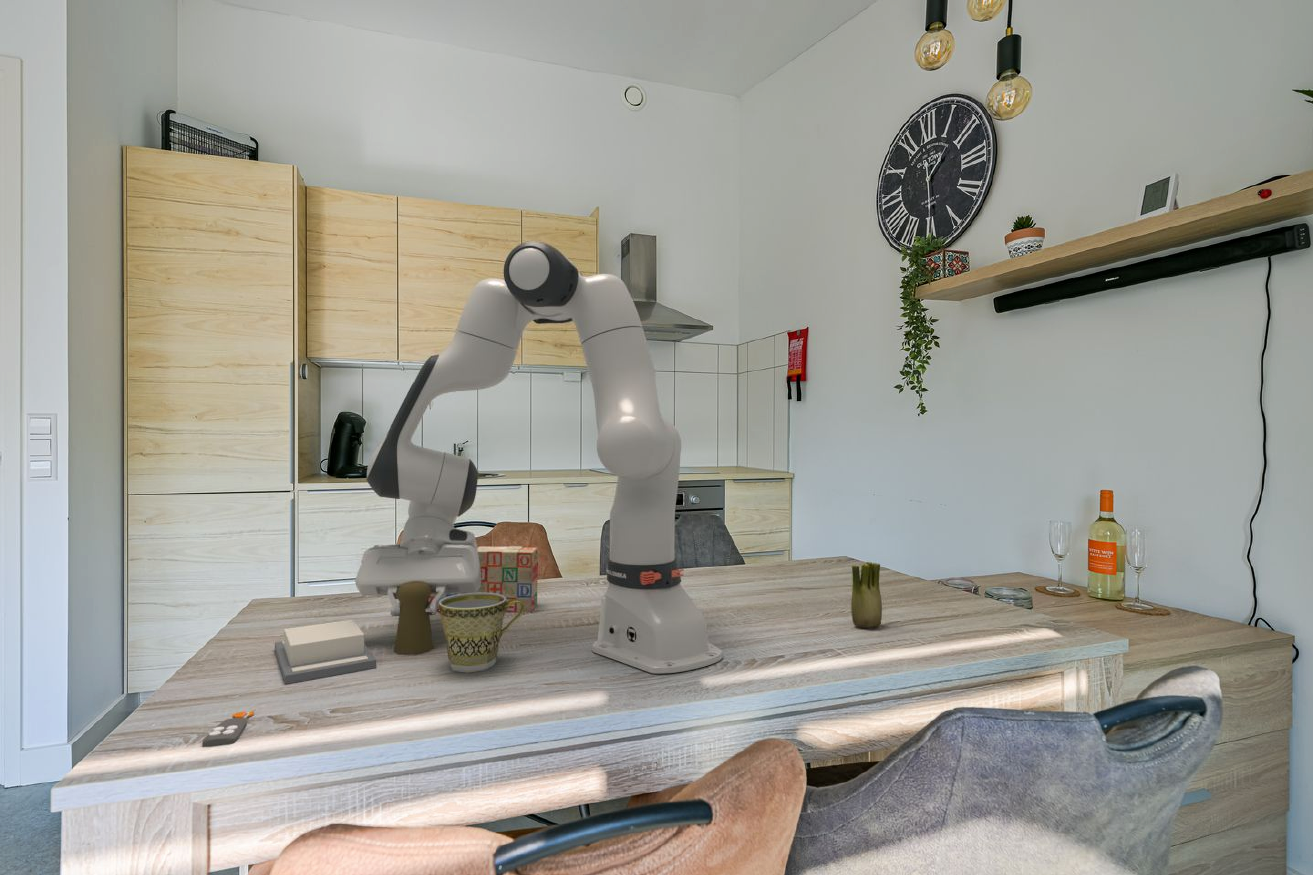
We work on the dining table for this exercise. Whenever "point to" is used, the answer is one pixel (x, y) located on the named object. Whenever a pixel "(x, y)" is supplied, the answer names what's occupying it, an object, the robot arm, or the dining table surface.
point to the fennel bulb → (866, 596)
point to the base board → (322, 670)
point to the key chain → (228, 730)
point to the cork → (413, 619)
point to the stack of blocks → (508, 575)
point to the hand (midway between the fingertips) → (413, 614)
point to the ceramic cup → (474, 628)
